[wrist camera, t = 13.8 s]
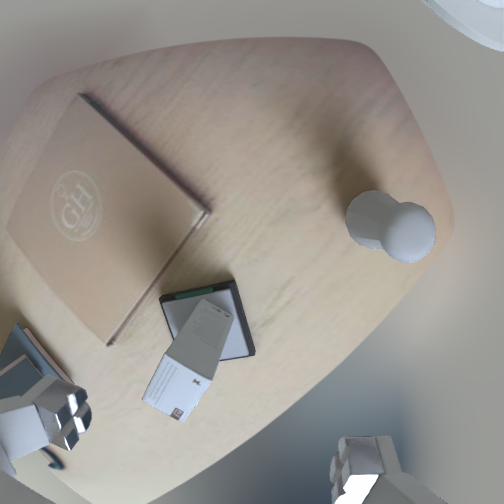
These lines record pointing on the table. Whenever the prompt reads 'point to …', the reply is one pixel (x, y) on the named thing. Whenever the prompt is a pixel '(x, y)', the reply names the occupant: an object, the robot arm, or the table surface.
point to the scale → (222, 296)
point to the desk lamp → (24, 364)
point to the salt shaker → (391, 226)
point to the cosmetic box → (189, 361)
